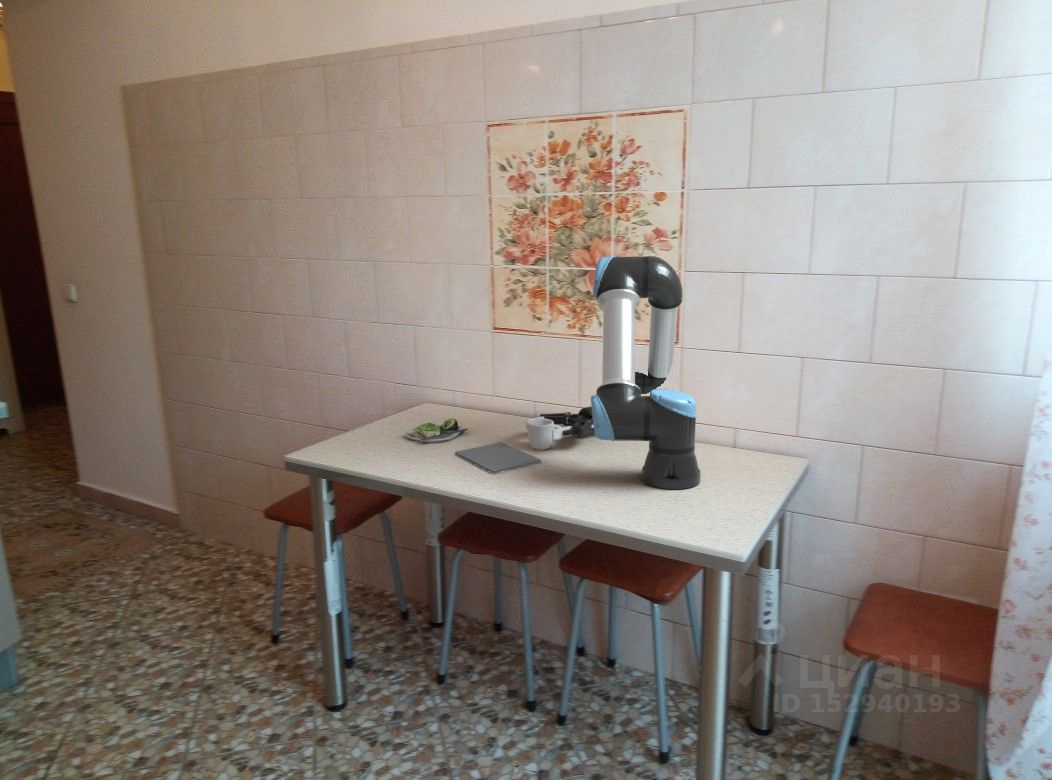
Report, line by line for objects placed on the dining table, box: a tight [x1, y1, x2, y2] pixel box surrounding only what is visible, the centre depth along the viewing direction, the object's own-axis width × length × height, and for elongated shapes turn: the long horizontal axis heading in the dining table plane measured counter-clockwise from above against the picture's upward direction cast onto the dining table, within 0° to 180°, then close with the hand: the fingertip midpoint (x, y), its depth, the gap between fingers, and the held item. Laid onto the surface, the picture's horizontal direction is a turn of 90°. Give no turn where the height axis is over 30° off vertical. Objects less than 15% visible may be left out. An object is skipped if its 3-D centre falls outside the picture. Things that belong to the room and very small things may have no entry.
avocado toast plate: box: [404, 418, 469, 444], centre depth 232 cm, size 19×18×5 cm
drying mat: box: [454, 441, 542, 474], centre depth 210 cm, size 21×16×1 cm
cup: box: [527, 418, 563, 451], centre depth 219 cm, size 11×8×8 cm
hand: (539, 429), depth 217 cm, fingers open, 13 cm apart
